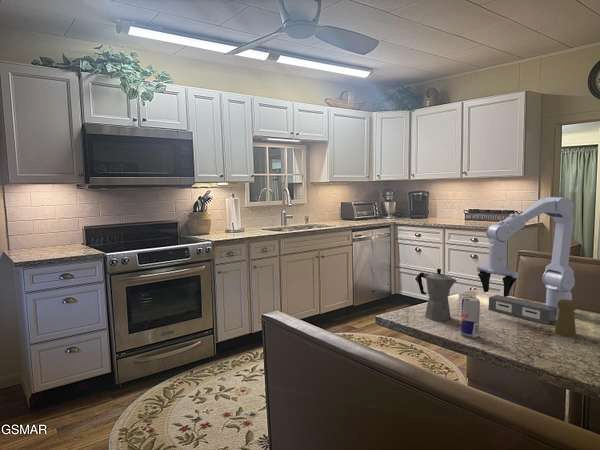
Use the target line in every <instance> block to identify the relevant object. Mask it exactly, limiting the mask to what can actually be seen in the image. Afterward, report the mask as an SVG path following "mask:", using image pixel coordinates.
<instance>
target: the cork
mask: <svg viewBox="0 0 600 450" xmlns="http://www.w3.org/2000/svg"><path fill="white" fill-rule="evenodd" d="M557 306H558V308H559V312H558V315H557V321H556V322H555V327H554V330H553V331H554V333H555V334H558V335H560V336H563V337H564V336H565V337H576V336H577V331H576V330H577V329H576V320H575V319H576V317H575V311H576V309H577V303H576V302H575V301H573V299H572V300H567V299H561V300H559V301H558V303H557Z"/></svg>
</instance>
